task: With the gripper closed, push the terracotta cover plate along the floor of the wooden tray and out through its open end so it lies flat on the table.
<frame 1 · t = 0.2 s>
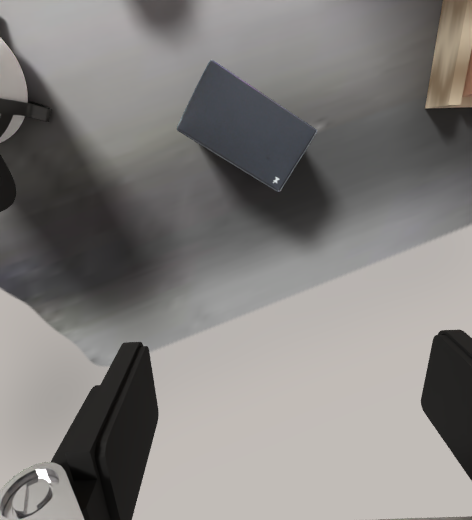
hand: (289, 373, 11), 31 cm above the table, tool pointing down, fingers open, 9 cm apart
small box: (244, 132, 37), on the table
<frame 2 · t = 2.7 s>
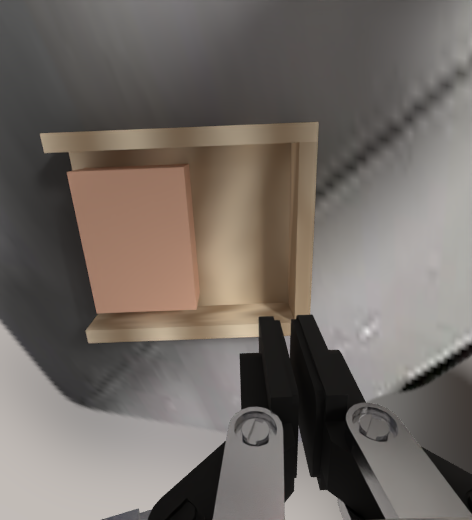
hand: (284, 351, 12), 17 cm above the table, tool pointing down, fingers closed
cover plate: (146, 234, 27), point 1 cm above the table, touching wooden tray
wooden tray: (195, 230, 28), on the table
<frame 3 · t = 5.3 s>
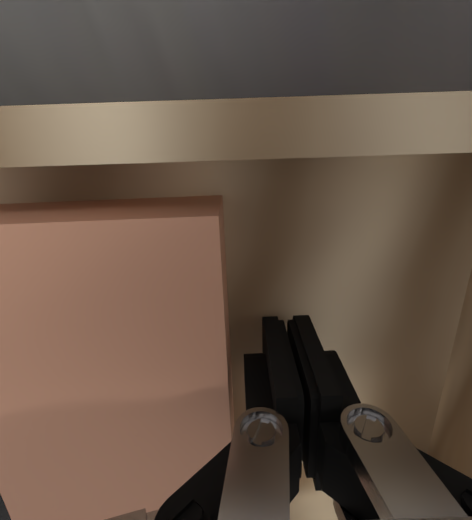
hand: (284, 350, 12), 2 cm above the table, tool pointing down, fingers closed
cover plate: (126, 342, 13), point 1 cm above the table, touching wooden tray
wooden tray: (252, 326, 13), on the table
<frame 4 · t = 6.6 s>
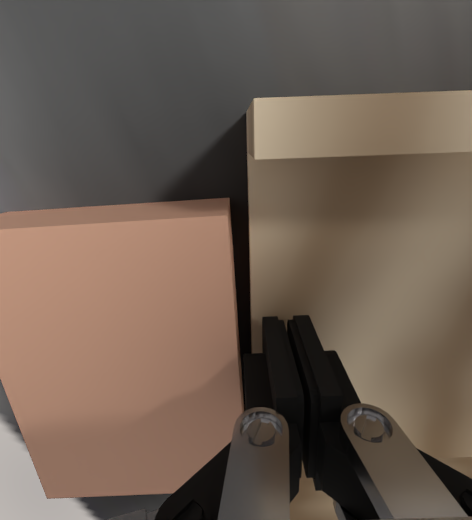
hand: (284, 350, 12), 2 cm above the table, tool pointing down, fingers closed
cover plate: (144, 332, 14), on the table
wooden tray: (471, 318, 13), on the table
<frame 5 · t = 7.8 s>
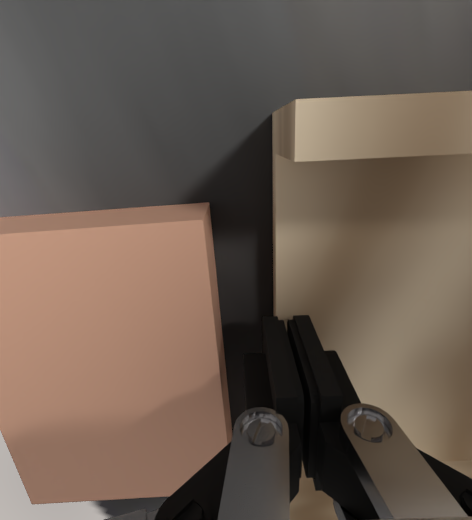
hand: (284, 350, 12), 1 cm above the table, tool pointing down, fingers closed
cover plate: (128, 336, 14), on the table
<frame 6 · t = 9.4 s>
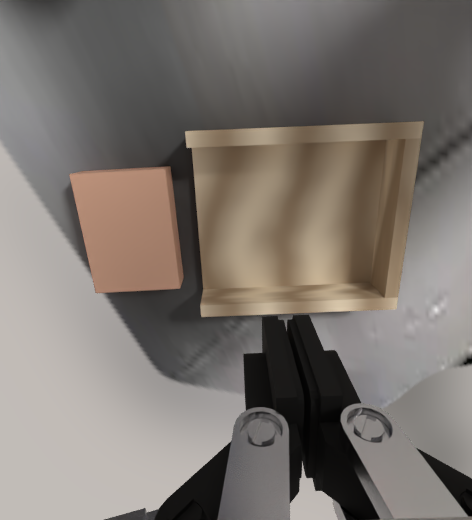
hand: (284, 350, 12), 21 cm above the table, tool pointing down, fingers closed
cover plate: (137, 226, 32), on the table
wooden tray: (292, 217, 32), on the table
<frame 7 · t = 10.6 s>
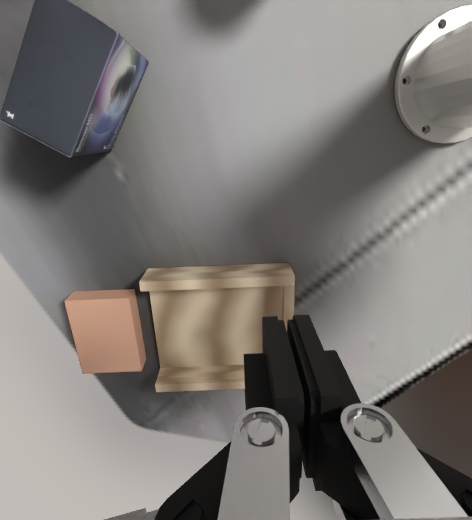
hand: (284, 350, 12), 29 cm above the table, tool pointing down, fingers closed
cover plate: (112, 325, 45), on the table
wooden tray: (221, 320, 45), on the table
small box: (105, 94, 35), on the table
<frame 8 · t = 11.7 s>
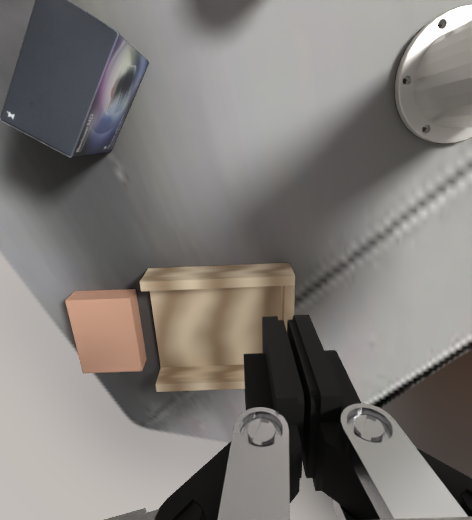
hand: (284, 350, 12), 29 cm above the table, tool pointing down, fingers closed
cover plate: (113, 324, 45), on the table
wooden tray: (222, 320, 45), on the table
small box: (105, 95, 35), on the table
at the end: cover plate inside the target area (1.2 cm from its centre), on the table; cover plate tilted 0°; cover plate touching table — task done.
